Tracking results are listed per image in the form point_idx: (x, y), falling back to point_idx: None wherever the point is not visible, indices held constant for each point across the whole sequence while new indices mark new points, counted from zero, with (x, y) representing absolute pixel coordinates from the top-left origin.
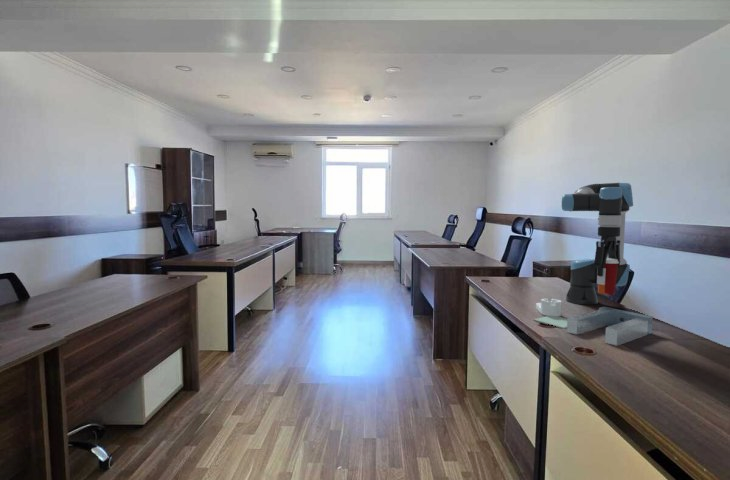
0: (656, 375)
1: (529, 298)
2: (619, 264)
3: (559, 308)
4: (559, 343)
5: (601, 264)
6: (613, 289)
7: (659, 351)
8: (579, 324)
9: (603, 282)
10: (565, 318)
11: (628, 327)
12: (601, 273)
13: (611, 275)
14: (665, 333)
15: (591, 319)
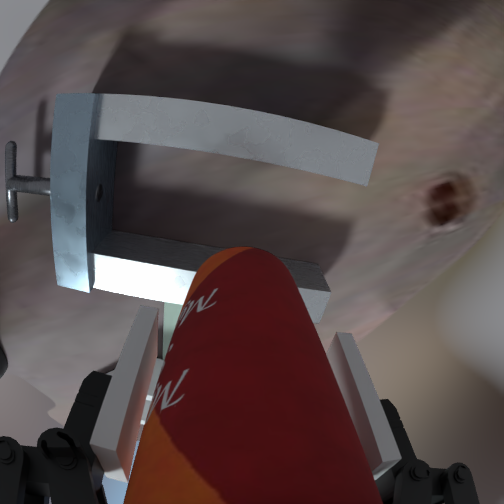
0: (490, 48)
1: None
2: (39, 446)
3: (152, 377)
4: (425, 265)
5: (461, 485)
6: (266, 266)
7: (309, 23)
8: (310, 279)
9: (354, 350)
10: (165, 341)
11: (285, 117)
12: (395, 420)
13: (326, 370)
14: (60, 69)
15: None
